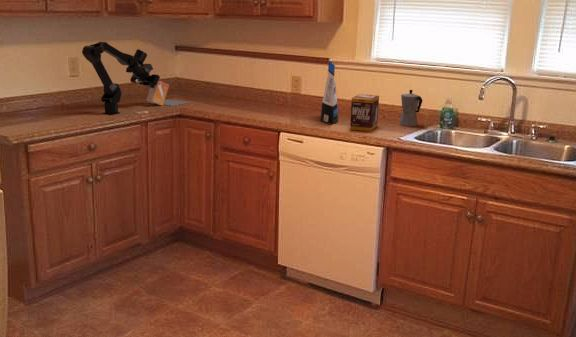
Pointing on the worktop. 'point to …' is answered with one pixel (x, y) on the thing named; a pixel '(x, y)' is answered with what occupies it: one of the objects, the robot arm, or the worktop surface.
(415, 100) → the coffeepot
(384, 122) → the worktop surface
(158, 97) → the small box
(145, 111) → the coaster
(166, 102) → the mat
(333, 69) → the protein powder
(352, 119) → the supplement box
